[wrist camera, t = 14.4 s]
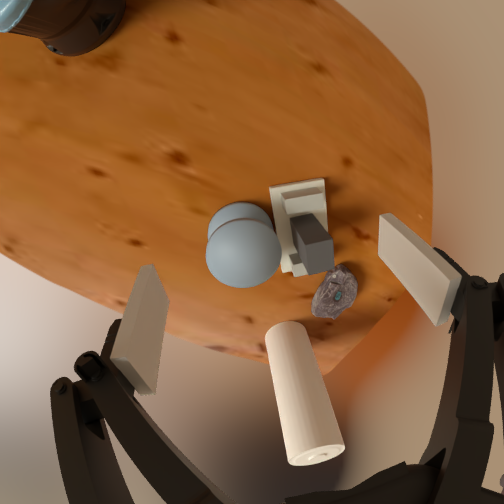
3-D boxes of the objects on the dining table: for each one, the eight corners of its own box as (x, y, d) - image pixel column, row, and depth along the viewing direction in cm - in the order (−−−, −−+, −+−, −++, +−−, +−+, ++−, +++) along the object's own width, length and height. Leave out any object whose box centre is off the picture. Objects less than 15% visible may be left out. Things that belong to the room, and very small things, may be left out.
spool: (201, 209, 46) (197, 230, 38) (267, 195, 46) (276, 214, 38) (216, 265, 51) (216, 293, 44) (276, 253, 51) (285, 279, 44)
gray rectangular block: (289, 218, 47) (305, 245, 38) (312, 213, 47) (332, 238, 38) (293, 244, 49) (308, 275, 40) (315, 239, 49) (334, 269, 40)
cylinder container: (308, 318, 60) (352, 442, 33) (304, 347, 64) (338, 460, 38) (265, 323, 59) (292, 454, 33) (264, 352, 63) (286, 471, 37)
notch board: (268, 186, 45) (273, 195, 41) (321, 177, 45) (331, 185, 41) (281, 269, 53) (286, 283, 49) (327, 259, 53) (335, 272, 49)
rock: (361, 267, 55) (370, 279, 51) (338, 310, 60) (345, 323, 56) (327, 259, 53) (335, 272, 49) (305, 305, 58) (311, 319, 54)
